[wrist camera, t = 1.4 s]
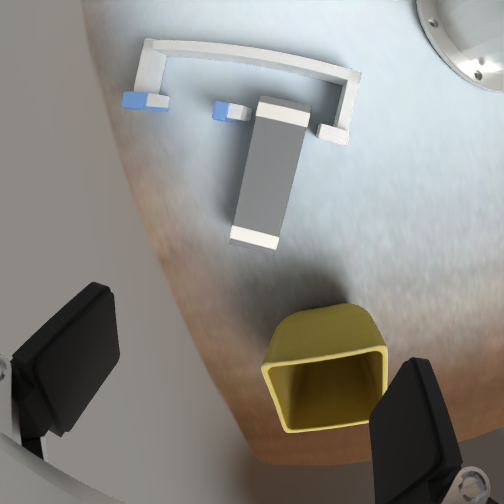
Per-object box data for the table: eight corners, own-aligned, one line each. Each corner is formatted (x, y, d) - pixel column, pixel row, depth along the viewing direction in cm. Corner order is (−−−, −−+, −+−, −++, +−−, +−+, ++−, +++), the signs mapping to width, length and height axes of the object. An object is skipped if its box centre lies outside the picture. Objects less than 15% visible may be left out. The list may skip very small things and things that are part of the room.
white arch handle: (161, 46, 21) (136, 34, 17) (354, 78, 20) (365, 68, 16) (147, 109, 23) (120, 107, 19) (338, 147, 22) (346, 150, 18)
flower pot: (372, 353, 29) (386, 421, 21) (291, 366, 31) (284, 434, 23) (366, 280, 26) (388, 344, 18) (271, 297, 28) (258, 364, 20)
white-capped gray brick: (266, 99, 22) (260, 94, 19) (310, 109, 22) (312, 106, 19) (237, 229, 26) (228, 244, 23) (278, 239, 26) (274, 255, 23)
